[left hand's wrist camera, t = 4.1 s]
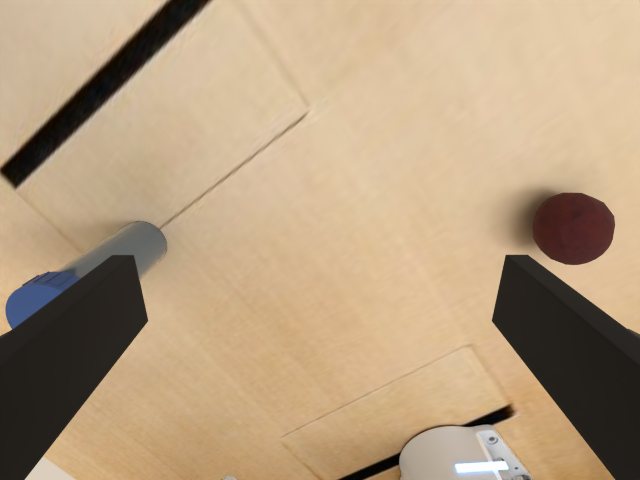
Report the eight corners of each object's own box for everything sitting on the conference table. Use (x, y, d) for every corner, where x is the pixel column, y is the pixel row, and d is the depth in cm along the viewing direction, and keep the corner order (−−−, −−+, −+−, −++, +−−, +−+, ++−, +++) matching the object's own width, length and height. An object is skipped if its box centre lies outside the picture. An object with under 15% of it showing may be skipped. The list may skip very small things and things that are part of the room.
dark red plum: (533, 258, 43) (572, 287, 36) (509, 207, 40) (545, 228, 34) (593, 227, 41) (645, 251, 35) (571, 172, 39) (622, 186, 32)
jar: (175, 256, 43) (101, 335, 28) (135, 269, 44) (42, 353, 29) (153, 215, 41) (62, 278, 27) (111, 229, 42) (0, 298, 27)
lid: (121, 325, 30) (106, 342, 28) (56, 345, 31) (37, 363, 29) (79, 260, 28) (60, 273, 26) (10, 283, 29) (-14, 298, 27)
